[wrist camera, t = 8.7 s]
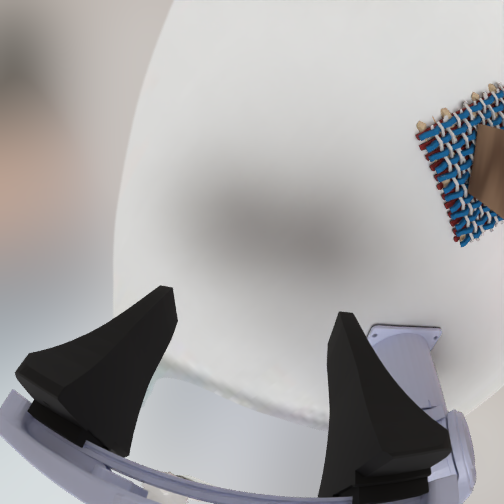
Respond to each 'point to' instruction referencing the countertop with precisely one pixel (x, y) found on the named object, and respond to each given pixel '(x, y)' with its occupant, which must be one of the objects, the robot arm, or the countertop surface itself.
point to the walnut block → (488, 169)
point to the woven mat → (463, 161)
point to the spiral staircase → (164, 494)
